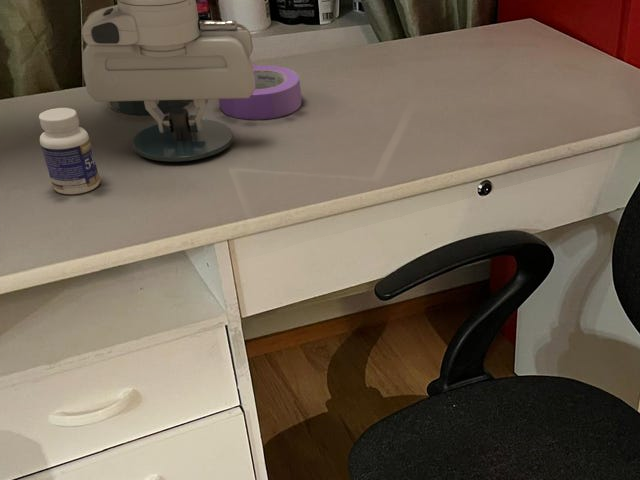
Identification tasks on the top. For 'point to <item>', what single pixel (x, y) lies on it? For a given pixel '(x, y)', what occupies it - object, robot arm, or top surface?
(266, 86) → the tape roll
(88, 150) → the pill bottle
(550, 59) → the top surface
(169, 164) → the top surface
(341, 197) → the top surface
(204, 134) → the canister lid
